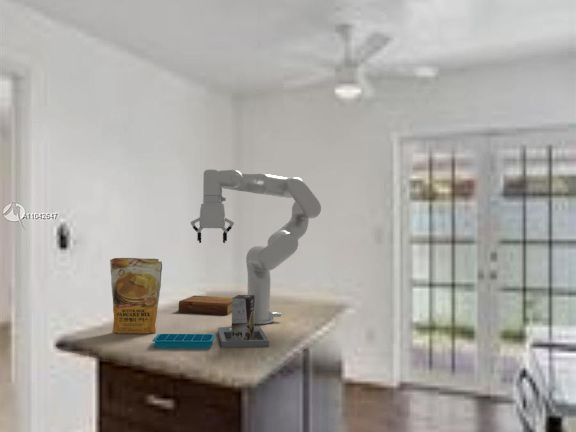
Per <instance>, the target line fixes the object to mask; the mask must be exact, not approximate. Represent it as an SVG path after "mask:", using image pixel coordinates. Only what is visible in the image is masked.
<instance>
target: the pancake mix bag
mask: <svg viewBox="0 0 576 432" xmlns="http://www.w3.org/2000/svg"><path fill="white" fill-rule="evenodd" d="M109 263H110V277H111V280H110V281H111V283H110V284H111V295H112V312H113V326H112V330H111V332H112V333H113V334H114V333H115V334H117V335H118V334H122V335H124V334H125V335H126V334H127V335H150V333H151V334H156V333H157V330H156V329H157V328H156V322H157V316H158V307H159V300H160V295H161V294H160V291H161V288H162V287H161V285H162V270H163V264H162V261H159V259H158V258H140V257H139V258H138V257H114V258H112V259H110V260H109Z"/></svg>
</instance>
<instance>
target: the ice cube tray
mask: <svg viewBox="0 0 576 432" xmlns="http://www.w3.org/2000/svg"><path fill="white" fill-rule="evenodd" d="M215 337H216V334H215V333H158V334H156V335H155V337H154V338H152V340H151V341H152V342H154V347H155V349H178V348H186V349H189V350H190V349H191V350H192V349H193V350H195V349H196V350H197V349H199V350H200V349H202V350H203V349H204V350H207V349H211V346H212V345H213V342H214V340H215ZM186 349H185V350H186Z"/></svg>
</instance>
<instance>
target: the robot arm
mask: <svg viewBox="0 0 576 432" xmlns="http://www.w3.org/2000/svg"><path fill="white" fill-rule="evenodd" d="M202 189H203V191H202V194H203V196H202V197H203V199H202V203H201V204H200V209H199V217H198V218H196V219H194V220H192V221H190V224H191V226H192V228H193V230H194V231H196V233H197V238H196V239H197V242H198V243H199V244H202V230H203V229H221V230H222V231H223V233H222V243H223V244H226V242H227V240H228V239H227V238H228V233H229V232H230V231H231V230H232V228H233V226H234V225H235V223H234V221H232V220H231V219H228V218H227V217H226V212H225V211H226V210H225V204H224V203H223V202H225V201H226V199H227V198H226V197H224V196H223V189H224V190H231V191H239V192H246V193H252V194H257V195H265V196H272V197H273V196H274V197H278V198H279V197H280V198H287V199H289V198H290V199H291V198H293V200H294V202H293V204H292V207H291V218H290V219H289V221H287V222H286V223H285V224H284V225H283V226H282V227H280V228H278V230H277V231H275V232H274V233H272V234H271V235H270V236H269V238H268V239H267V246H263V245H254V246H253V247H251V248H249V250H248V251H247V253H246V257H245V258H246V259H245V260H246V261H245V262H246V269H247V271H246V273H247V295H255V303H254V325H266V324H272V323H273V322H274V318H281V317H282V312H277V311H276V312H274V311H272V310H271V271H272V270H274V269H276V268H277V267H279V266H280V265H281V264H282V263H284V262H285V261H287V260H288V259H289V258H291V257H292V256H293V255H294V254H295V252H296V251H297V249H298V247H299V239H301V238H302V237H303V236H304V235H305V234H306V232H307V230H308V228H309V227H308V226H309V222H310V219H315V218H317V217H319V215H320V213H321V211H322V205H321V203H320V201H319V200H318V198H317V197H316V195H315V194H314V193H313V192H312V190H311V189H310V187H309V186H308V185H307V184H306V183H305V181H303V180H302V178H300V177H296V176H295V177H284V176H279V175H273V174H267V173H241V172H240V171H239V170H237V169H225V170H220V169H211V168H210V169H205V170H204V171H203V187H202ZM198 222H199V227H197V226H196V223H198ZM226 223H228V224H229V225H228V227H226Z"/></svg>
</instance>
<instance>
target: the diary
mask: <svg viewBox="0 0 576 432" xmlns="http://www.w3.org/2000/svg"><path fill="white" fill-rule="evenodd" d="M232 298H233V297H232V296H231V297H230V296H229V297H228V296H213V295H211V296H210V295H208V296H207V295H192V296H189V297H187V298H185V299H181V300H179V301H178V313H180V314H198V315H214V316H215V315H217V316H218V315H219V316H229V315H232Z"/></svg>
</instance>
